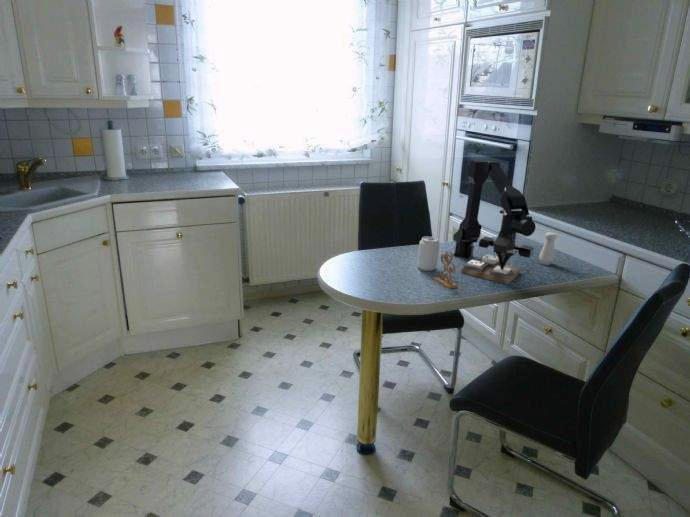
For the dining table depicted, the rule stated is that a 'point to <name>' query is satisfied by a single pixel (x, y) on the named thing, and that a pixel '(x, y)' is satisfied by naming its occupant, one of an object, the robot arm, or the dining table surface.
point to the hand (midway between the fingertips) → (502, 268)
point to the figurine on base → (441, 278)
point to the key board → (491, 272)
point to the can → (428, 253)
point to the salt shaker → (548, 249)
